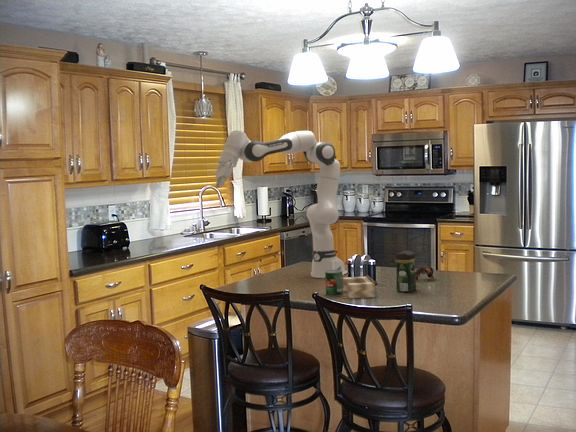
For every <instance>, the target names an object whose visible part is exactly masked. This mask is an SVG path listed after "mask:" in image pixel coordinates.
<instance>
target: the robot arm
mask: <svg viewBox="0 0 576 432" xmlns="http://www.w3.org/2000/svg"><path fill="white" fill-rule="evenodd" d="M335 149H336V148H335V147H334V145H333V144H331V143H330V142H327V141H320V142H318V141H317V139H316V135H315V134H314V133H313V131H310V130H297V131H293V132H289V133H286V134H285V133H284V135H281V136H280V137H279V139H275V140H272V141H265V142H263V141H259V140H252V141H251V140H250V138H248V136H247V133H246V132H244V131H242V130H233V131H231V132H230V133H229V134H228V136H227V139H226V142H225V144H224V148H223V150H222V152H221V155H220V157H219V160H218V166H217V169H216V173H215V179H216V182H215V183H216V184H215V187H216V188H220V187H222V188H223V187H224V186H225V183H226V182H227V180H228V179H230V178H231V176H232V173H233V170H234V168H236V167H237V165H238V162H239V159H240V160H241V161H243V162H245V163H252V162H253V163H255V162H260V161H262V160H263V159H265V157H266V156H267V157H268V155H270V156H271V155H274V154H277V153H283V154H285V155H293V154H298V153H303V154H304V158H305V159H306V161H307V162H309V163H311V164H317V165H318V166H319V174H318V180H317V185H316V190H315V191H316V195H317V203H313V204H312V205H310V206H308V207H307V209H306V214H305V215H306V218H307V219H308V221H309V226H310V229H311V230H310V231H311V234H312V249H313V250H312V253H311V254H312V261H311V272H310V276H311V278H317V279H325V271H328V270H342V275H343V276H345V275H344V274H346V273H347V271H348V270H346V266H345V263H344V262H343V260H341V259H340V258H339V257H338V256H337V254H339V253H340V250H339V249H335V248H334V245H335V244H334V243H335V242H334V234H333V233H332V230H331V226H330V225H334V224H335V223H336V222H338V220H339V215H340V214H339V210H338V206H337V205H338V204H337V193H338V188H339V182H340V176H341V164H340V161H339V160H338V159H337V155H336V150H335ZM346 275H347V274H346Z"/></svg>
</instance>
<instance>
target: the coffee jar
mask: <svg viewBox="0 0 576 432" xmlns="http://www.w3.org/2000/svg"><path fill="white" fill-rule="evenodd" d="M394 256H395V266H396V268H395V269H396V270H395V271H396V272H395V273H396V291H397V292H399V293H411V292H414V291H415V290H416V289H417V280H416V279H415V272H416V268H415V267H416V266H415V263H416V262H415V261H416V255H415V252H414V251H413V250H402V251H400V252H397V253H396V254H395V255H394Z"/></svg>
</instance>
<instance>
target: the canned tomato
mask: <svg viewBox="0 0 576 432" xmlns="http://www.w3.org/2000/svg"><path fill="white" fill-rule="evenodd" d="M343 278H344V277H343V276H342V270H328V271H325V278H324V280H325V296H327V297H330V298H331V297H333V298H334V297H342V296H343V295H344V288H343Z"/></svg>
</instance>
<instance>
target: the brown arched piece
mask: <svg viewBox="0 0 576 432" xmlns="http://www.w3.org/2000/svg"><path fill="white" fill-rule="evenodd" d="M421 274H422V275H423V274H424V275H426V276H427V278H429V280H430V282H433V281H435V276H434V268H433V267H430V266H428V267H427V266H426V265H424V266H421V267H419V268H418V269H415V279H416V281H417V280H418V279H419V278H420V277H421Z"/></svg>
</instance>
